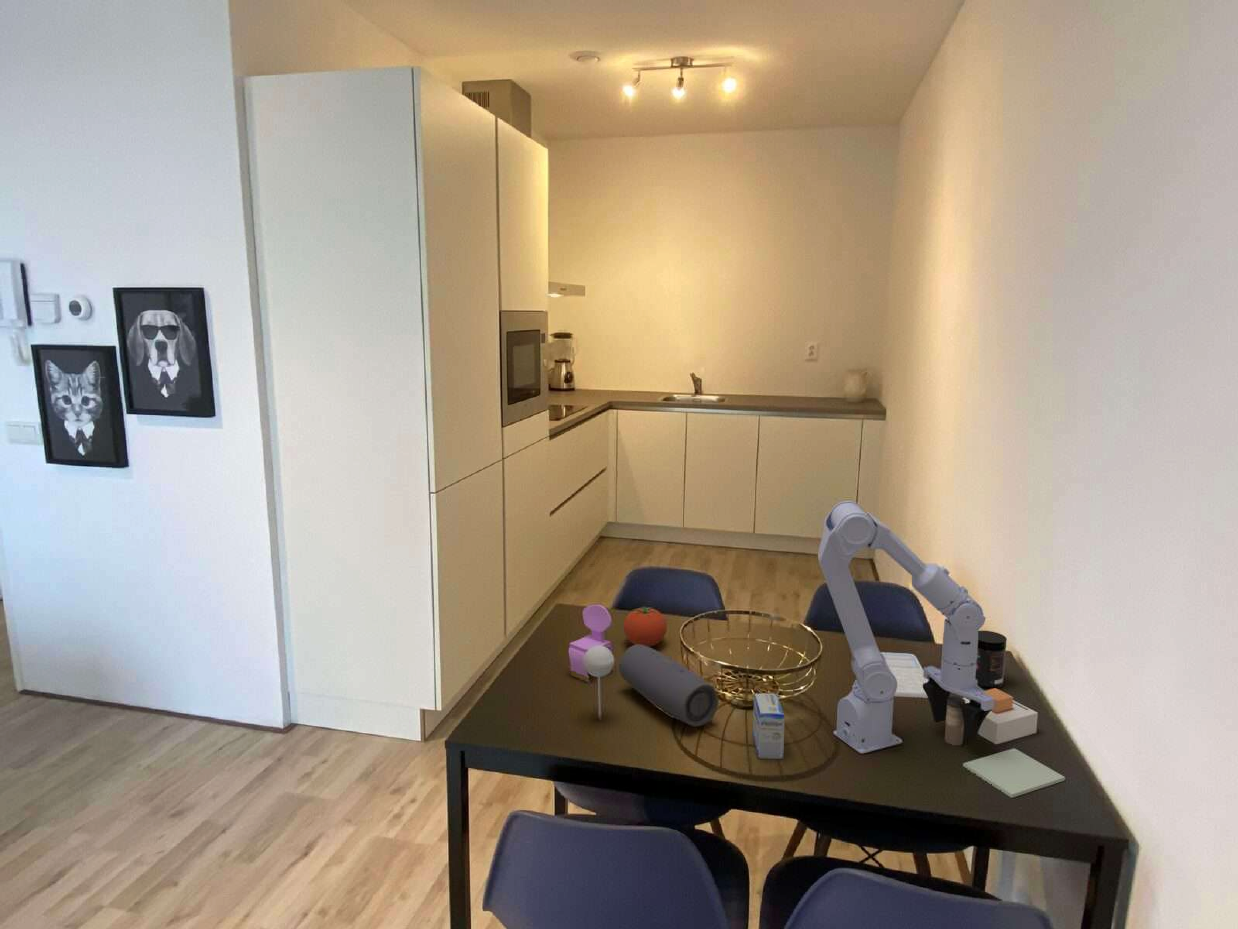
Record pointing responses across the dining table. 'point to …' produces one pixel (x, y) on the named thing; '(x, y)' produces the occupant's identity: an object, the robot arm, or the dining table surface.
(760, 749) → the medicine box
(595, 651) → the lollipop
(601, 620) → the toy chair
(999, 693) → the button
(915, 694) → the calculator
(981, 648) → the supplement container
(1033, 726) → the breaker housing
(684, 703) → the bluetooth speaker
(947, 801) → the dining table surface
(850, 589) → the robot arm
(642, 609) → the tomato
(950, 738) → the tan lidded jar
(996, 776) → the sage board
